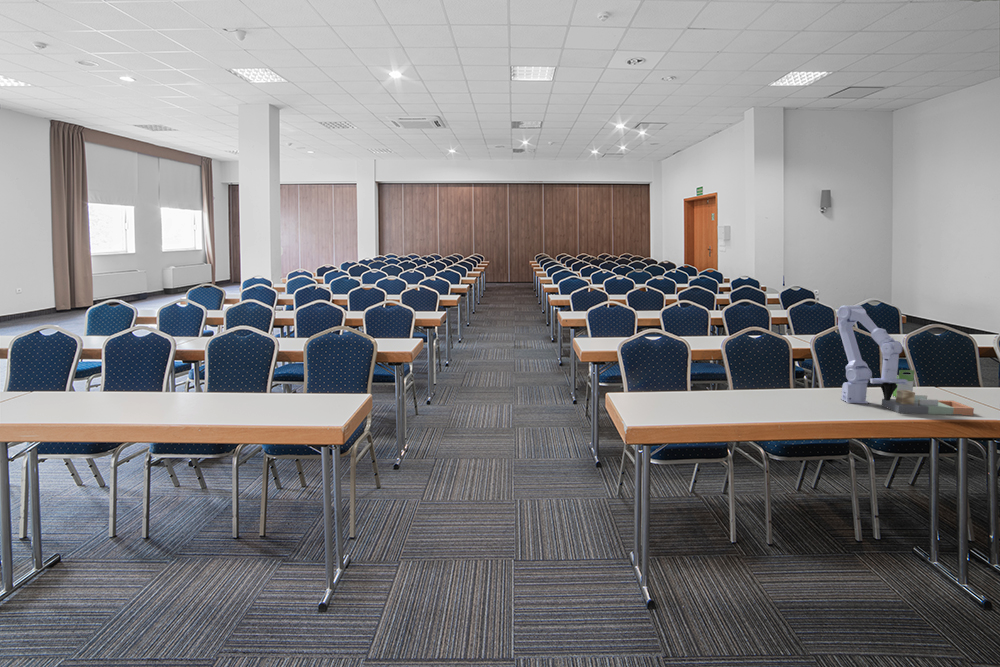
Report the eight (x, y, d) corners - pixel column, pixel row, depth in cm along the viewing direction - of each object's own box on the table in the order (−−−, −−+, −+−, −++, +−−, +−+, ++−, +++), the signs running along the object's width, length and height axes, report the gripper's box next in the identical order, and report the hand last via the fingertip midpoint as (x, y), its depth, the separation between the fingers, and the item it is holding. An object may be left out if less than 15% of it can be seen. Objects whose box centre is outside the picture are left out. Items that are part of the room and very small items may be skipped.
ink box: (907, 396, 306) (910, 368, 305) (912, 398, 302) (914, 370, 301) (892, 396, 307) (894, 368, 305) (896, 398, 303) (899, 369, 301)
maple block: (901, 403, 278) (903, 392, 277) (895, 401, 283) (896, 389, 282) (914, 404, 278) (915, 392, 277) (907, 401, 283) (908, 390, 282)
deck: (898, 413, 274) (898, 406, 274) (881, 405, 288) (882, 398, 288) (973, 415, 272) (973, 408, 272) (952, 407, 286) (953, 400, 285)
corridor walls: (919, 405, 275) (920, 399, 275) (907, 400, 285) (907, 394, 284) (938, 406, 275) (938, 400, 275) (925, 401, 284) (925, 395, 284)
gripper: (876, 370, 276) (874, 401, 277) (912, 371, 275) (909, 402, 276) (868, 367, 283) (866, 398, 284) (903, 368, 282) (900, 399, 283)
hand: (887, 400), depth 281 cm, fingers closed
